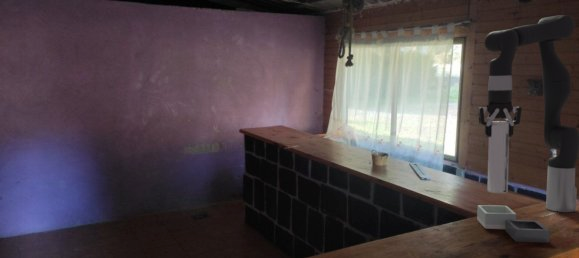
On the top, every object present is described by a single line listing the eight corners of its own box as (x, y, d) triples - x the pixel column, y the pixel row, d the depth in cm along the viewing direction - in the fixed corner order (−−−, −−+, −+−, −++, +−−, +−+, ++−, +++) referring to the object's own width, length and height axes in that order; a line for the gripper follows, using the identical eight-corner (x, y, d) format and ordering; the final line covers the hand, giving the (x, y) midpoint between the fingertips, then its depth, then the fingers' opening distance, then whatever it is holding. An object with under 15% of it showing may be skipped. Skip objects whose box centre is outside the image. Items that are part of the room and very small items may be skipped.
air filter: (503, 188, 158) (505, 120, 155) (510, 193, 151) (512, 122, 149) (484, 188, 158) (486, 120, 156) (491, 193, 152) (493, 122, 149)
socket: (536, 231, 148) (537, 220, 147) (549, 242, 138) (549, 230, 137) (505, 231, 149) (505, 219, 149) (515, 241, 139) (516, 229, 139)
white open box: (506, 220, 160) (506, 205, 160) (515, 229, 150) (516, 214, 150) (477, 219, 162) (477, 205, 161) (484, 228, 152) (485, 213, 151)
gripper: (518, 88, 154) (516, 135, 155) (475, 89, 156) (474, 135, 158) (526, 88, 146) (524, 137, 148) (481, 89, 148) (480, 138, 150)
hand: (498, 136), depth 153 cm, fingers closed on air filter, 6 cm apart
